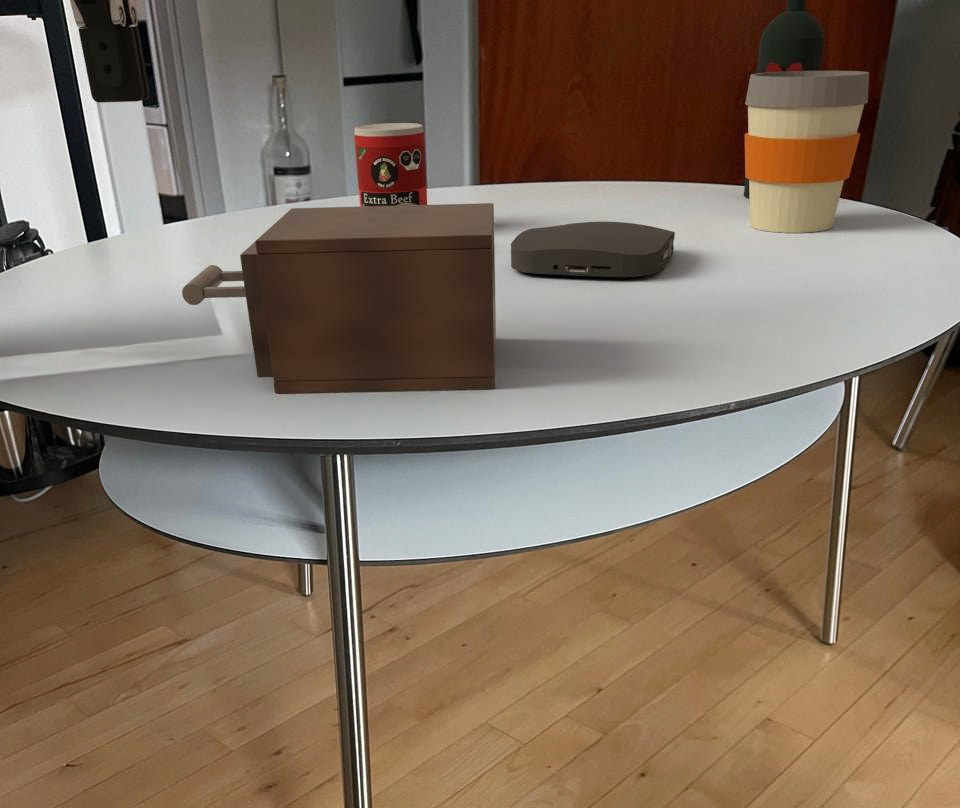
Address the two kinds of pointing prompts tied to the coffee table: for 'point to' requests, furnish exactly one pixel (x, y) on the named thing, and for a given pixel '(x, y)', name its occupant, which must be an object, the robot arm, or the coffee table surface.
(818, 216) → the reusable coffee cup
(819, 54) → the wine bottle
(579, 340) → the coffee table surface
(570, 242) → the media streaming box
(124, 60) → the robot arm
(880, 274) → the coffee table surface
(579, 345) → the coffee table surface
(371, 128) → the canned food
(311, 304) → the cabinet
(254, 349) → the drawer
